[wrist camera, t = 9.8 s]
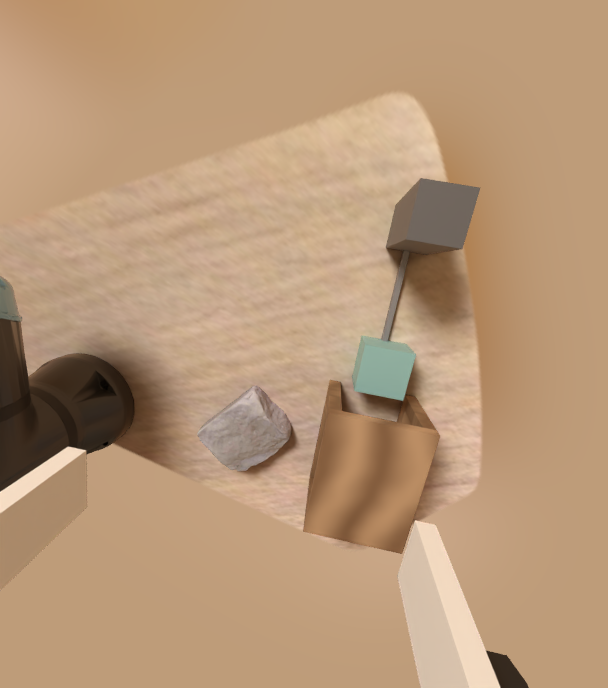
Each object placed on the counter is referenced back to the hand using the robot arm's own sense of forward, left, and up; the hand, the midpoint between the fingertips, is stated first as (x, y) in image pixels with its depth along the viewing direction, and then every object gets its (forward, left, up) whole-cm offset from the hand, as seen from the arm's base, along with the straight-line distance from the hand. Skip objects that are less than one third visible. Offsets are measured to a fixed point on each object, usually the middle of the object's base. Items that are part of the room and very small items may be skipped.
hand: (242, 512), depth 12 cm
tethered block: (+10, +7, -31) cm, 33 cm away
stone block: (-6, -15, -31) cm, 35 cm away
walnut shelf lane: (+10, -13, -31) cm, 35 cm away
